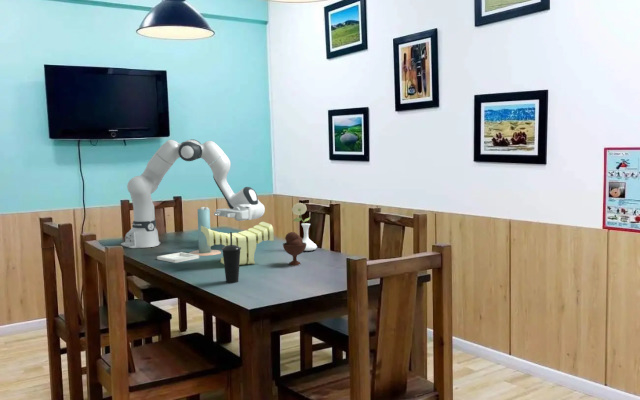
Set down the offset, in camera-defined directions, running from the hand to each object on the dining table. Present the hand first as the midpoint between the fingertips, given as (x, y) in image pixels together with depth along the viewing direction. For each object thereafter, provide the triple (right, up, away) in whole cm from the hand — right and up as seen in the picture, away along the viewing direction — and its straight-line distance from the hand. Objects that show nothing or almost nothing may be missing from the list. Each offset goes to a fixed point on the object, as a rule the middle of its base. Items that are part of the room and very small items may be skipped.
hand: (220, 214), depth 301 cm
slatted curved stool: (+14, -22, -32) cm, 41 cm away
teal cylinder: (-7, -19, -8) cm, 22 cm away
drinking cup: (+17, -25, -69) cm, 76 cm away
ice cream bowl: (+40, -22, -36) cm, 58 cm away
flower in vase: (+44, -19, 0) cm, 48 cm away
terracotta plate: (-7, -20, -8) cm, 22 cm away
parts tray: (-17, -21, -23) cm, 35 cm away
